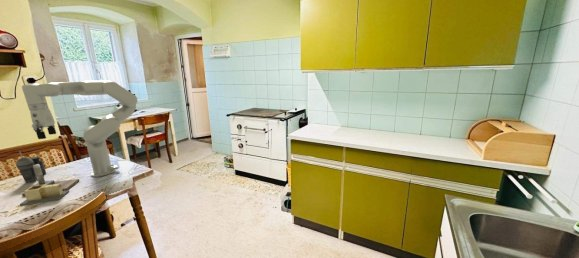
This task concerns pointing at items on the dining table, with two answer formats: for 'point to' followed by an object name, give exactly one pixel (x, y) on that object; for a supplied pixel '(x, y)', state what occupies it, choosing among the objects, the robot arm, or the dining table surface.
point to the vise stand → (64, 184)
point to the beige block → (43, 192)
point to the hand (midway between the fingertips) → (47, 136)
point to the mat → (45, 199)
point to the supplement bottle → (38, 161)
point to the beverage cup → (26, 169)
